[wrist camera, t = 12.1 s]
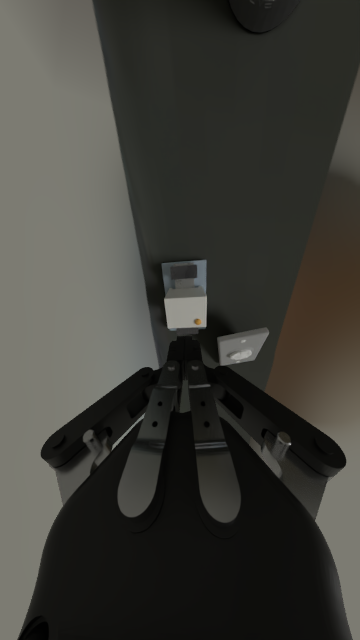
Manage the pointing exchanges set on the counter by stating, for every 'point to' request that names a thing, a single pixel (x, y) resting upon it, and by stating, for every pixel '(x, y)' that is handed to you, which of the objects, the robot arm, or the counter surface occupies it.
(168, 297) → the block
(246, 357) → the light switch
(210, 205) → the counter surface
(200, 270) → the plate
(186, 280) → the din rail
